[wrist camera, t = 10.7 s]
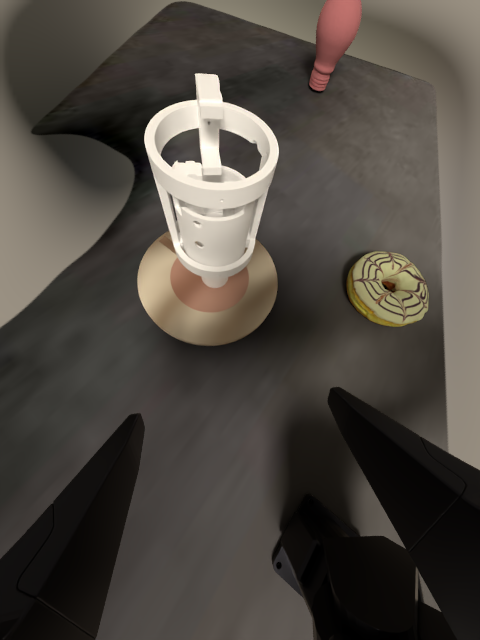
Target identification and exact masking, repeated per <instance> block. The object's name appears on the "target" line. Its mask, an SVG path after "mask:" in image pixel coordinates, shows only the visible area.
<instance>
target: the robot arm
mask: <svg viewBox="0 0 480 640" xmlns="http://www.w3.org/2000/svg"><path fill="white" fill-rule="evenodd" d="M328 405H329V407H330V409H331V411H332V414H333V416H334V418H335V420H336V423H337V425H338V427H339V429H340V431H341V434H342V435H343V437H344V439H345V441H346V443H347V445H348V446H349V448H350V450H351V452H352V453H353V455H354V457H355V459H356V461H357V462H358V464H359V466H360V468H361V469H362V471H363V473H364V475H365V476H366V478H367V480H368V482H369V484H370V485H371V487H372V489H373V491H374V492H375V494H376V496H377V498H378V500H379V501H380V503H381V505H382V507H383V508H384V510H385V512H386V514H387V516H388V517H389V519H390V521H391V523H392V524H393V526H394V528H395V530H396V531H397V533H398V535H399V537H400V539H401V540H402V542H403V544H404V546H405V547H406V549H405V548H403V547H401V546H400V545H398V544H396V543H395V542H393V541H391V540H389V539H388V538H386V537H384V536H362V537H360V536H358V535H357V534H356V533H355V532H354V531H353V530H352V529H350V528H349V527H348V526H347V525H346V524H345V523H343V522H342V521H341V520H340V519H339V518H338V517H337V516H335V515H334V514H333V513H332V512H331V511H330V510H329V509H327V508H326V507H325V506H324V505H323V504H322V503H320V502H319V501H318V500H317V499H316V498H315V497H314V496H312V495H311V494H307V495H306V496H305V497H304V499H303V501H302V503H301V505H300V507H299V509H298V511H297V512H296V513H294V515H293V517H292V519H291V521H290V523H289V525H288V527H287V528H286V530H285V532H284V534H283V536H282V538H281V544H280V545H279V547H278V549H277V551H276V553H275V555H274V557H273V560H272V564H273V568H274V570H275V572H276V573H277V574H278V575H280V576H281V577H282V578H283V579H284V580H285V581H286V582H287V583H288V584H289V585H290V586H291V587H292V588H293V589H294V590H295V591H296V592H298V593H299V594H300V595H301V596H302V597H303V598H304V600H305V602H306V605H307V607H308V609H309V612H310V614H311V616H312V620H313V637H314V640H480V470H478V469H476V468H474V467H473V466H471V465H469V464H467V463H465V462H464V461H462V460H460V459H458V458H456V457H454V456H453V455H451V454H449V453H447V452H446V451H444V450H442V449H441V448H439V447H437V446H436V445H434V444H432V443H431V442H429V441H427V440H426V439H424V438H422V437H420V436H419V435H417V434H416V433H414V432H412V431H411V430H409V429H408V428H406V427H404V426H403V425H401V424H399V423H398V422H396V421H394V420H393V419H391V418H390V417H388V416H386V415H385V414H383V413H381V412H380V411H378V410H376V409H375V408H373V407H372V406H370V405H368V404H367V403H365V402H363V401H362V400H360V399H358V398H357V397H355V396H353V395H352V394H350V393H349V392H347V391H345V390H344V389H342V388H340V387H333V388H331V389H330V392H329V396H328ZM144 431H145V426H144V422H143V419H142V416H141V414H140V413H136V414H131V415H129V416H128V417H127V418H126V419H125V421H124V422H123V423H122V424H121V425H120V426H119V427H118V429H117V430H116V431H115V432H114V433H113V434H112V435H111V437H110V438H109V439H108V440H107V441H106V442H105V443H104V444H103V446H102V447H101V448H100V449H99V450H98V451H97V452H96V454H95V455H94V456H93V457H92V458H91V459H90V460H89V462H88V463H87V464H86V465H85V466H84V467H83V468H82V470H81V471H80V472H79V473H78V474H77V475H76V476H75V477H74V479H73V480H72V481H71V482H70V483H69V484H68V485H67V487H66V488H65V489H64V490H63V491H62V492H61V493H60V495H59V496H58V497H57V498H56V499H55V500H54V502H53V504H51V505H50V506H49V507H48V508H47V509H46V510H45V512H44V513H43V514H42V515H41V516H40V517H39V518H38V519H37V520H36V522H35V523H34V524H33V525H32V526H31V527H30V528H29V529H28V530H27V532H26V533H25V534H24V535H23V536H22V537H21V538H20V539H19V540H18V541H17V542H16V543H15V544H14V545H13V546H12V547H11V549H10V550H9V551H8V552H7V553H6V554H5V555H4V556H3V557H2V558H1V559H0V640H95V638H96V637H97V633H98V629H99V625H100V621H101V617H102V613H103V609H104V605H105V601H106V597H107V593H108V589H109V585H110V582H111V578H112V574H113V570H114V566H115V562H116V558H117V554H118V550H119V546H120V542H121V538H122V534H123V530H124V526H125V522H126V518H127V514H128V510H129V506H130V503H131V499H132V495H133V491H134V487H135V483H136V479H137V475H138V470H139V465H140V459H141V452H142V445H143V438H144ZM309 499H312V501H311V503H308V501H309ZM277 562H280V565H279V566H277V565H276V563H277ZM419 573H420V574H421V576H422V578H423V580H424V581H425V583H426V585H427V587H428V589H429V590H430V592H431V594H432V596H433V597H434V599H435V601H436V603H437V605H438V606H439V608H440V610H441V612H440V611H438V610H436V609H434V608H432V607H430V606H428V605H427V604H425V602H424V597H423V592H422V586H421V581H420V575H419Z"/></svg>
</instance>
